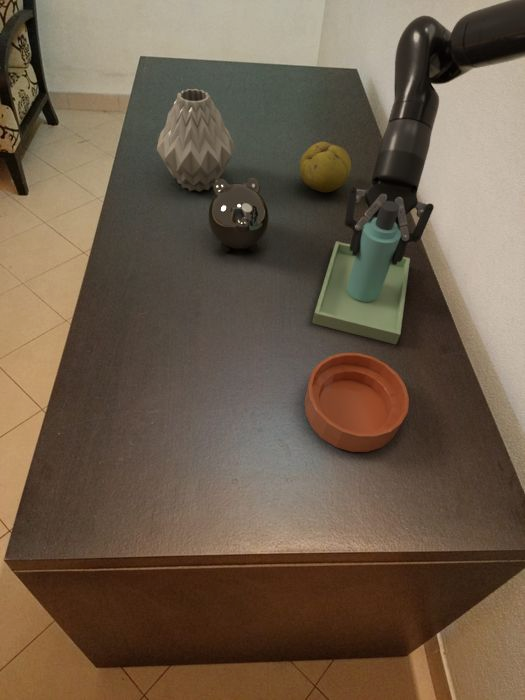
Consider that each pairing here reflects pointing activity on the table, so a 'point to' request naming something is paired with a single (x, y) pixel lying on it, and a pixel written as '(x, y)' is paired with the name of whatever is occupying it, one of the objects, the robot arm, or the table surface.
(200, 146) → the vase
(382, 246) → the bottle
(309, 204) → the table surface
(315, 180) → the fruit
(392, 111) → the robot arm
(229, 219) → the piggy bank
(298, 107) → the table surface
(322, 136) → the table surface
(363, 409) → the bowl
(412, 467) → the table surface
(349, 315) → the tray
